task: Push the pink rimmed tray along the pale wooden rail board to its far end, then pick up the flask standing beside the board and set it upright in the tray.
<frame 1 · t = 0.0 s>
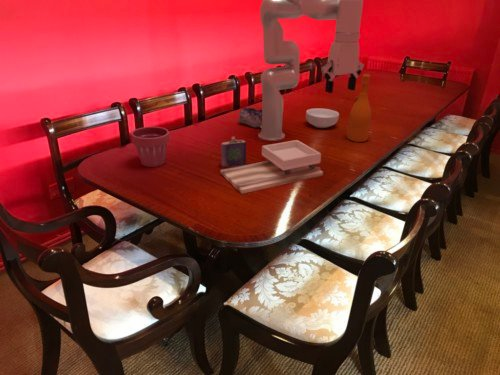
hand: (340, 91, 132), 31 cm above the table, fingers open, 9 cm apart
cereal bowl: (321, 126, 199), on the table
plant pot: (153, 162, 154), on the table
flask: (233, 165, 153), on the table
pink rimmed tray: (290, 157, 145), point 6 cm above the table, slide at 0.0 cm
rail board: (271, 174, 145), on the table
geode: (256, 125, 198), on the table
wine bottle: (357, 139, 181), on the table
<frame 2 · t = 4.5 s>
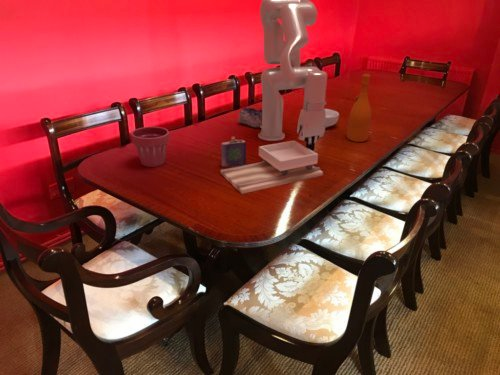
hand: (309, 152, 149), 6 cm above the table, fingers closed
pink rimmed tray: (287, 157, 145), point 6 cm above the table, slide at 1.4 cm, touching gripper
everything else where it was.
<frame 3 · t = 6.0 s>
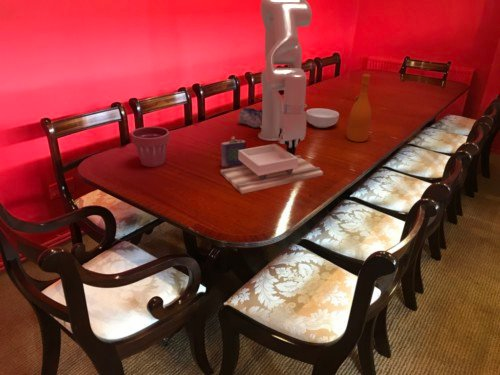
hand: (290, 156, 145), 6 cm above the table, fingers closed
pink rimmed tray: (267, 161, 141), point 6 cm above the table, slide at 10.1 cm, touching gripper
everything else where it was.
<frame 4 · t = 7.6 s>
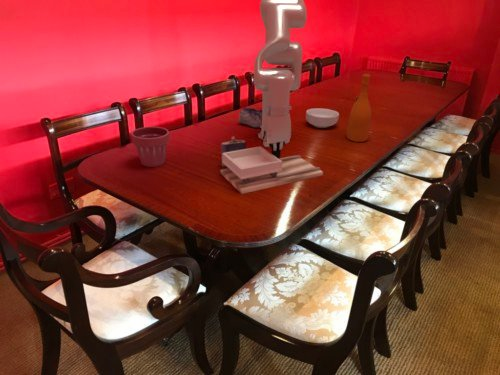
hand: (275, 158, 143), 6 cm above the table, fingers closed
pink rimmed tray: (251, 164, 139), point 6 cm above the table, slide at 16.7 cm, touching gripper
everything else where it was.
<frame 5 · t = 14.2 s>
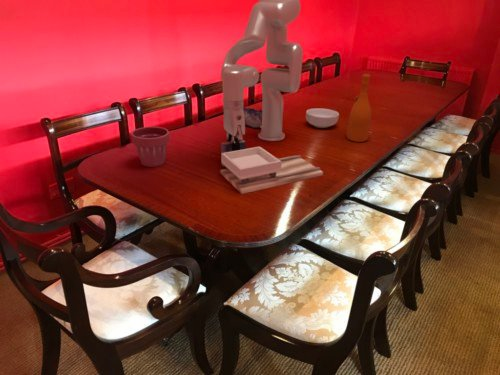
hand: (233, 149, 150), 6 cm above the table, fingers closed on flask, 3 cm apart
flask: (233, 165, 153), on the table, touching gripper
pink rimmed tray: (250, 165, 138), point 6 cm above the table, slide at 17.0 cm
everything else where it was.
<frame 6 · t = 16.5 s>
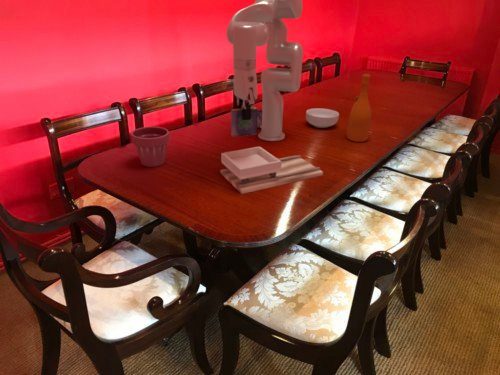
hand: (244, 117, 136), 22 cm above the table, fingers closed on flask, 3 cm apart
flask: (244, 135, 139), point 15 cm above the table, touching gripper
everything else where it was.
when the fingers open (13 cm above the table, at t = 18.9 s): flask stays where it is, resting on pink rimmed tray.
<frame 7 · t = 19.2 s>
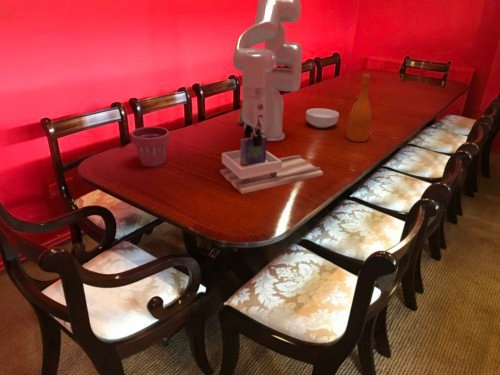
hand: (252, 142, 135), 14 cm above the table, fingers open, 5 cm apart
flask: (253, 163, 139), point 6 cm above the table, touching pink rimmed tray
pink rimmed tray: (251, 164, 139), point 6 cm above the table, slide at 16.8 cm, touching flask
everything else where it was.
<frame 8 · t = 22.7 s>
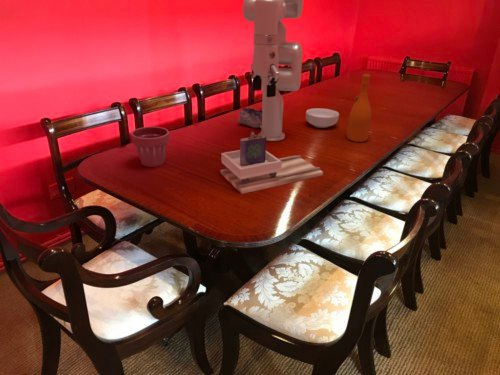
hand: (263, 93, 132), 30 cm above the table, fingers open, 9 cm apart
nothing on the table moved.
at the end: pink rimmed tray slide at 16.9 cm; flask inside the target area on the pink rimmed tray (0.9 cm from its centre), point 6.0 cm above the pink rimmed tray's base; flask tilted 0° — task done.
